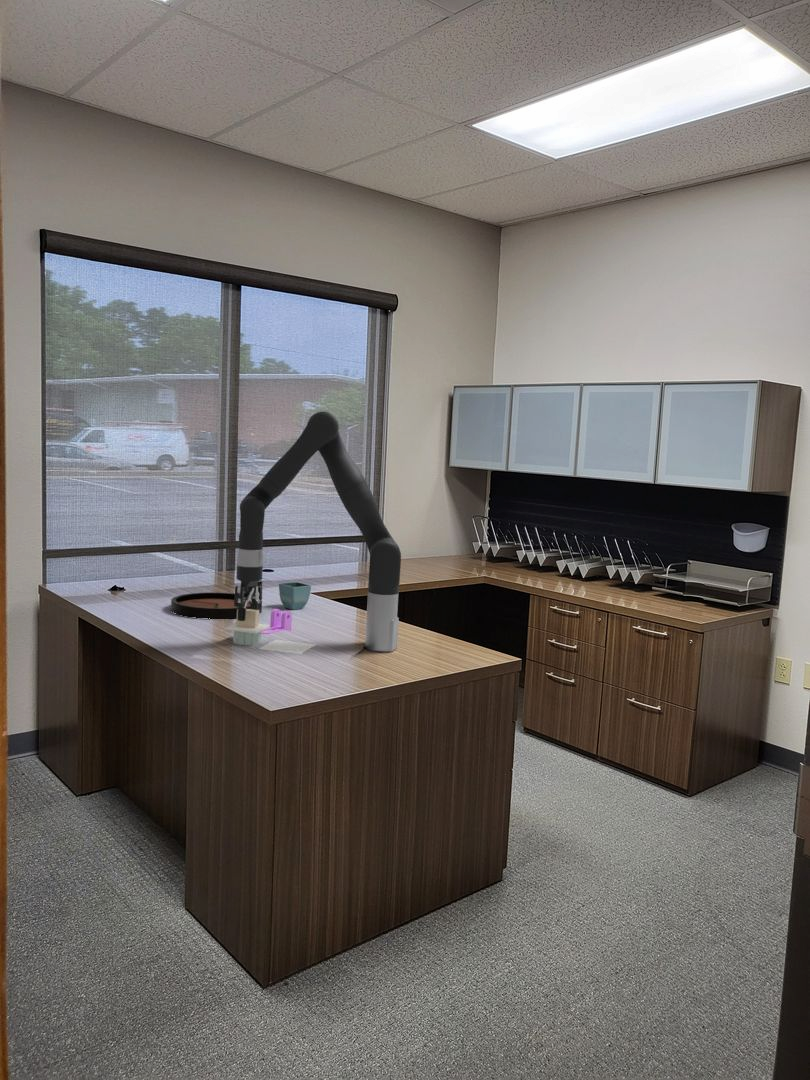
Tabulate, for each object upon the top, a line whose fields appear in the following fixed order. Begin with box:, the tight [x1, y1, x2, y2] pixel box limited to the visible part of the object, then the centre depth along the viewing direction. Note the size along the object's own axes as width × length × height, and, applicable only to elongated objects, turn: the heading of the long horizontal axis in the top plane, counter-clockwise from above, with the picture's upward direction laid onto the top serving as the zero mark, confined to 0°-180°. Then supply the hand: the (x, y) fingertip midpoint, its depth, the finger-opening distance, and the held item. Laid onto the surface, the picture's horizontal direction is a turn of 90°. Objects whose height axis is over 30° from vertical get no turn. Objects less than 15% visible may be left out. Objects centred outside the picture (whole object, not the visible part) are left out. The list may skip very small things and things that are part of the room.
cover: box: [223, 609, 270, 634], centre depth 251 cm, size 10×10×6 cm
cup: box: [232, 631, 262, 646], centre depth 252 cm, size 8×8×5 cm
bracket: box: [261, 608, 293, 635], centre depth 269 cm, size 13×6×7 cm, turn 152°
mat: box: [257, 639, 317, 655], centre depth 249 cm, size 13×13×1 cm
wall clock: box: [170, 591, 263, 620], centre depth 300 cm, size 31×4×31 cm
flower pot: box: [278, 581, 312, 610], centre depth 312 cm, size 9×9×9 cm
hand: (247, 618), depth 251 cm, fingers open, 8 cm apart
